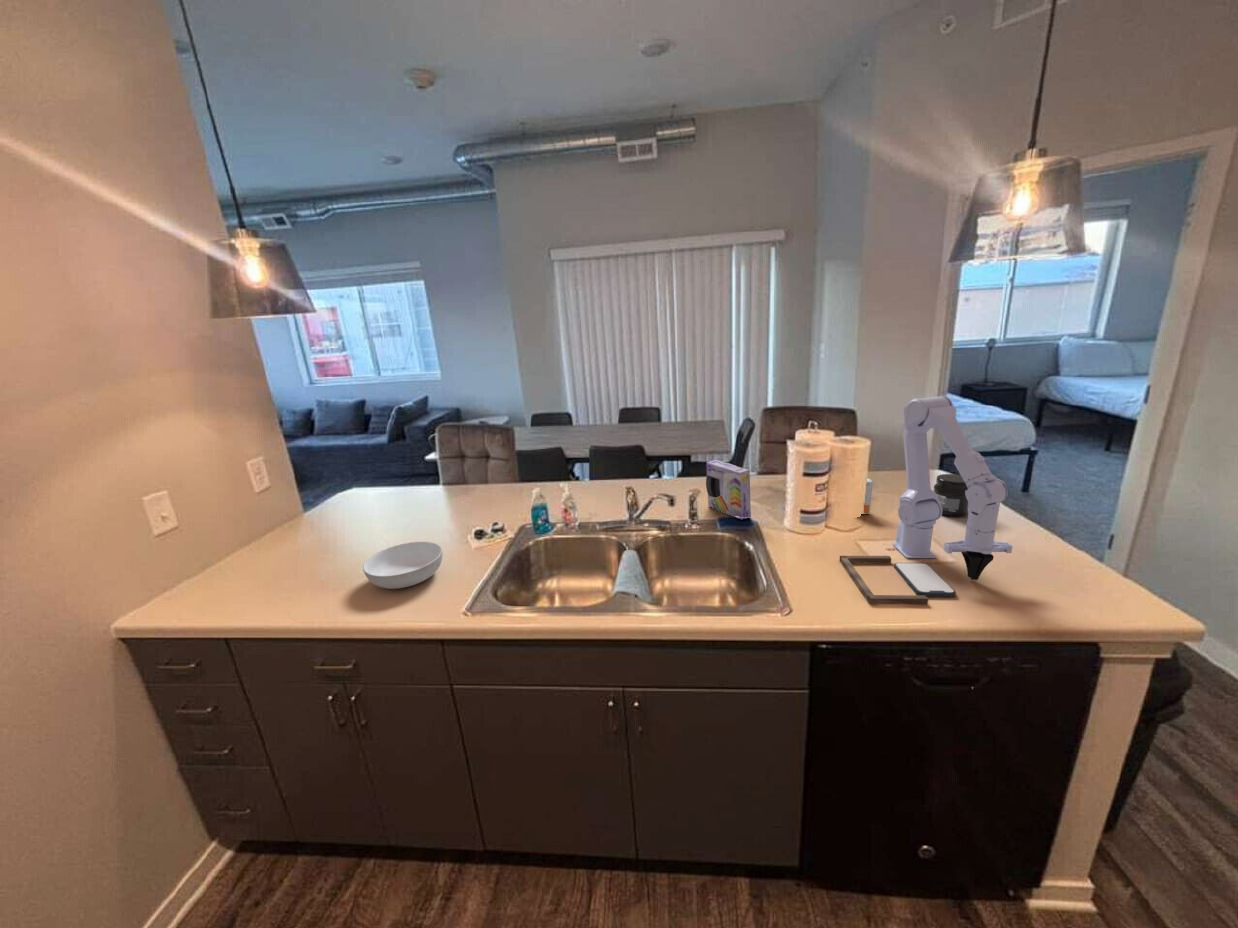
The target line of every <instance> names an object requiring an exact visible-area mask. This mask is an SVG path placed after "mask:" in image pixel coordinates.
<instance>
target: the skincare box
mask: <svg viewBox="0 0 1238 928" xmlns="http://www.w3.org/2000/svg"><path fill="white" fill-rule="evenodd" d="M873 485H874V481H872V480H871V479H870V478H868V477H867V484H866V494H865V503H864V513H865V514H869V515H870V514H871V513H870V511H871V505H872V504H871V503H872V496H873V495H872V494H873Z"/></svg>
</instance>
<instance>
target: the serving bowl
mask: <svg viewBox="0 0 1238 928" xmlns="http://www.w3.org/2000/svg"><path fill="white" fill-rule="evenodd" d="M442 561H443V548H442V546H441V545H440V544H438V543H435V542H431V541H411V542H406V543H401V544H397V545H393V546H390V547H387V548H385V549H382V550H380V551H379V552H376V553H375V554H373V555H371V556H370V557H369V558H368V559H367V560H365V562H364V564H363V566H362V571H363V574H364V575H365V576H366V577H365V578H367V580H368V581H369V582H370V583H371V584H373V585H375V586H377V587H379V588H382V589H390V590H391V589H393V590H395V589H396V590H397V589H404V588H407V587H412V586H415V585H418V584H420V583H422V582H424V581H425V580H427V579H429V578H430V577H432V576H433V575H434V574H435V573H436V572H437V571H438V570H439V568H440V566H441V564H442Z"/></svg>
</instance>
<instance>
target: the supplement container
mask: <svg viewBox="0 0 1238 928" xmlns="http://www.w3.org/2000/svg"><path fill="white" fill-rule="evenodd" d="M935 482H936V483H935V484H934V485H933V491H934V492H935V493H936V494H938V499H939V503H940V505H941V507H942V515H941V516H944V517H950V518H962V517H964V516H968V515H967V514H969V508H968V500H967V498H966V495H965V490H968V487H967V485H966V484H965V482H964V480H963V478H962V477H961V475H960V474H953V473H943V474H939V475H937V476H936V479H935Z"/></svg>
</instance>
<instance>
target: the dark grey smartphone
mask: <svg viewBox="0 0 1238 928" xmlns="http://www.w3.org/2000/svg"><path fill="white" fill-rule="evenodd" d="M893 568H894V570H895V571H896V573H898V574H899V576H900V577H901V578H902V579H903V580H904V582H905V583H906V584H907V585H908V587H909V588H910V589H911V590H912V591H913V592H914V593H915V594H916V595H925V596H926V597H927V598H940V599H941V598H942V599H943V598H944V599H945V598H948V599H950V598H951V599H953V598H956V594H957V591H956V590H955V589H954V588H953V587H951V585H949V583H947V581H946V580H944V578H942V576H941V575H939V574H938V573H937V572H936V571H935V570H934V569H933V568H932V567H931V566H930V565H929V564H927V563H924V562H922V563H921V562H919V563H918V562H916V563H915V562H895V563H894V564H893Z"/></svg>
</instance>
